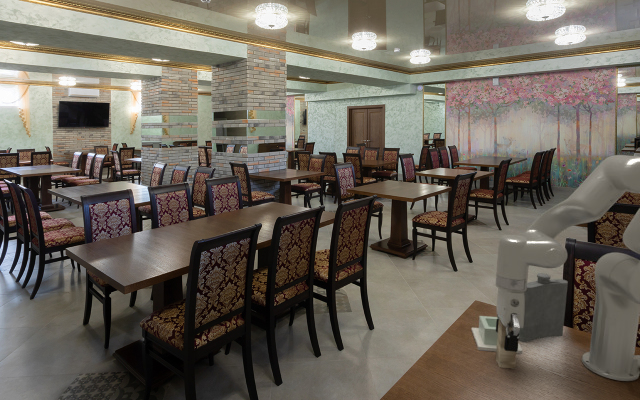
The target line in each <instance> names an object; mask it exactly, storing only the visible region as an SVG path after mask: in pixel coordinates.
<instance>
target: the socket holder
mask: <svg viewBox="0 0 640 400" xmlns="http://www.w3.org/2000/svg"><path fill="white" fill-rule="evenodd" d="M478 318H479V320H478V327H471V333H472V335H473V340H474V342H475V345H476V348H477V350H478V351H485V352H495V353H496V351H497V336H498V333H497V332H496V321H497V319H499V318H497V316H489V315H488V316H485V315H479V316H478ZM523 352H524V351H523V349H522V347H521V345H520V343H519V342H518V351H517V352H516V355H517V354H518V355H519V354H520V355H523Z"/></svg>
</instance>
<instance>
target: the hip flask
mask: <svg viewBox="0 0 640 400" xmlns="http://www.w3.org/2000/svg"><path fill="white" fill-rule="evenodd" d="M536 278H537V280H536V281H535V280H534V281H530V282H527V289H526V291H524V300H525V308H524V327H523V328H522V329H521V328H520V331H519V333H520V334H519V342H522V343H529V342H532V341H535V340H540V339H546V338H553V337H554V338H556V337H562V336H563V335H564V325H565V315H566V314H565V313H566V304H567V294H568V293H567V292H568V284H569V283H568V282H569V281H568V280H565V279H561V278H559V279H558V278H557V279H554V278H553V279H552V278H551V275H550V274H547V273H543V272H541V273H537V274H536Z"/></svg>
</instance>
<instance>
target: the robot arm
mask: <svg viewBox="0 0 640 400" xmlns="http://www.w3.org/2000/svg"><path fill="white" fill-rule="evenodd" d="M626 192H628V193H633V194H639V195H640V156H639V155H638V156H636V155H625V154H615V155H611V156H608V157H606V158H605V159H604V160H602V161H601V162H600V163H599V164H598V165H597V166H596V167H595V168H594V169H593V170H592V172H591V173H590V174H589V175H588V176H587V177H586V179H584V181H582V183H581V184H580V185H578V187H577V188H576V189H575V190H574V191H573V192H572V193H571V194H570V195H569V196H568V198H566V199H565V200H562V201H561V202H559V203H557V204H555V205H554V206H552V207H550V208H549V209H548V210H546V211H544V212H543V213H541V214H540V215H539V216H538V217H537V218H536V219H535V220H534V221H532V223H531V224H530V225H529V226H528V227H527V229H526V230H524V232H523V234H522V235H519V234H505V235H502V236H500V238H499V240H498V247H497V260H496V261H497V262H496V271H495V273H496V274H495V286H496V288H497V295H496V296H497V297H496V317H497V318H499V319H500V320H501V322H502V324H503V325H504V326H505V327H506V334H507V336H505V343H504V349H505V351H513V352H517V351H518V343H519V342H520V341H519V334H520V333H519V331H520V328H521V329H522V328H523V327H524V308H525V300H524V291H526V289H527V283H528V276H529V268H530V267H529V266H531V267H538V268H542V269H556V268H560V267H561V266H563V265H564V264H565V263H566V261H567V259H568V251H567V248H566V247H565V246H564V244H562V243H561V242H560V241H558V240H556V238H557V237H558V236H559V235H560V234H561V233H562V232H564V231H566V230H567V229H568V228H571V227H573V226H577V225H581V224H587V223H591V222H595V221H598V220H600V219H601V218H602V217H603V216H604V215H605V214H606V213H607V212H608V211H609V210H610V208H611V207H612V206H614V205H615V203H616V202H617V201H618V200H619V199H621V197H622V196H623V195H624V194H625V193H626ZM622 242H623V244H624V245H625V247H626V248H628V249H629V250H631V251H632V252H635V253H636V254H638V255H640V207H639V208H638V209H637V211H636V213H635V214H634V216H633V217H632V219H631V221H630V222H629V223H628V225H627V227H626V228H625V229H624V232H623V235H622ZM594 283H595V301H594V303H595V304H594V311H593V318H592V327H591V337H590V344H589V345H590V346H589V351H587V352H584V353H583V354H582V356H581V362H582V364H583V365H584V366H585V368H587V369H589V371H591V372H592V373H594V374H596V375H599V376H601V377H604V378H607V379H609V380H610V379H611V380H615V381H621V382H631V381H635V380H638V379H639V376H640V355H638V354H637V355H635V351H636V344H637V337H638V336H637V335H638V329H639V322H640V259H638V258H636V257H633V256H631V255H629V254H627V253H622V252H610V253H609V252H608V253H606V254H604V255H602V256H601V257H600V258H598V260H597V262H596V263H595V268H594ZM499 319H497V321H496V332H497V333H498V322H499ZM508 323H511V324H512V325H508ZM509 328H513V330H511V331H509Z"/></svg>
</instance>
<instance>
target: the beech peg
mask: <svg viewBox="0 0 640 400" xmlns="http://www.w3.org/2000/svg"><path fill="white" fill-rule="evenodd" d="M508 325H512V324H511V323H508ZM511 330H513V328H509V331H511ZM505 336H507V334H506V327H505V326H504V325H503V324H502V322H501V320H500V319H499V322H498V336H497V351H496V352H495V353H496V354H495V360H496V362H497V365H498V367H499V368H504V369H505V368H507V369H516V362H517V360H516V358H517V354H516V352H513V351H505V349H504V343H505Z"/></svg>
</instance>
